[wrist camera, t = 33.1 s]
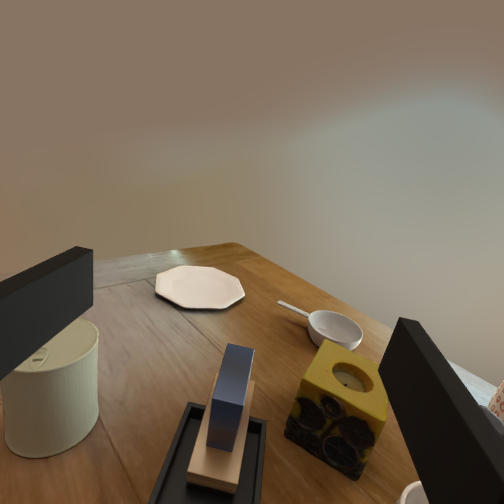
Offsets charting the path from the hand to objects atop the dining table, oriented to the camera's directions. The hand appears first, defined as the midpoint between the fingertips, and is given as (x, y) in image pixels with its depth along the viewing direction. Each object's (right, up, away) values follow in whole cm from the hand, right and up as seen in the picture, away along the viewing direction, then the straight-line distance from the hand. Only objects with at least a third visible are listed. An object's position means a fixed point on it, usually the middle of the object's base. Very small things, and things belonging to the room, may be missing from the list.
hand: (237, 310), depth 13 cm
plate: (-11, -6, +58) cm, 60 cm away
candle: (+11, -22, +29) cm, 38 cm away
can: (-23, -17, +23) cm, 37 cm away
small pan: (+13, -14, +50) cm, 54 cm away
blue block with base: (-3, -19, +23) cm, 30 cm away
